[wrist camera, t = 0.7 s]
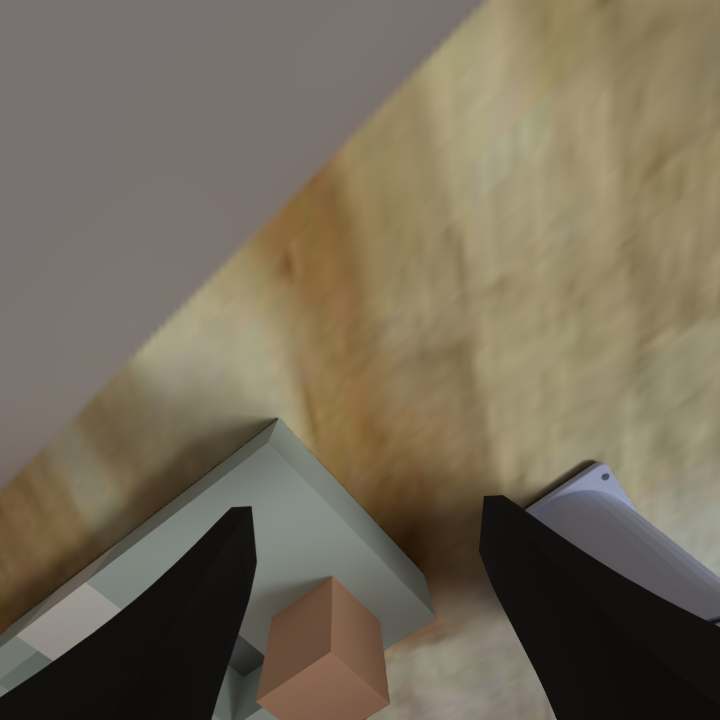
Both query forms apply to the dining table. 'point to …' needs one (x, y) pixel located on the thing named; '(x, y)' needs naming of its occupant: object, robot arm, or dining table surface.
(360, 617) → the terracotta block
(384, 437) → the dining table surface
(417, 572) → the board
